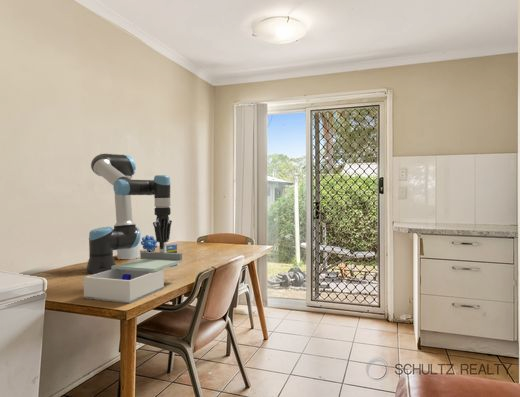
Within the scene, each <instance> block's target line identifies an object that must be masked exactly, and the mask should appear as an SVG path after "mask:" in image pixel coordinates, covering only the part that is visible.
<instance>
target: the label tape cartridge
mask: <svg viewBox="0 0 520 397" xmlns="http://www.w3.org/2000/svg"><path fill="white" fill-rule="evenodd" d="M166 253H178V243H177V244H169V245H168V244H167V245H166ZM176 266H178V264H176V265H173V266H172V267H176Z"/></svg>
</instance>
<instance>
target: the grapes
mask: <svg viewBox="0 0 520 397" xmlns="http://www.w3.org/2000/svg"><path fill="white" fill-rule="evenodd" d="M157 243H158V242H157V241H156V238H155V237H154V236H152V235H151V236H149V235H148V234H147V235H145V236H143V237H142V238H141V240H140V246H141V245H142V249H144V250H146V252H149V251H150V252H155V251H156V248H158V244H157Z"/></svg>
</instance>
